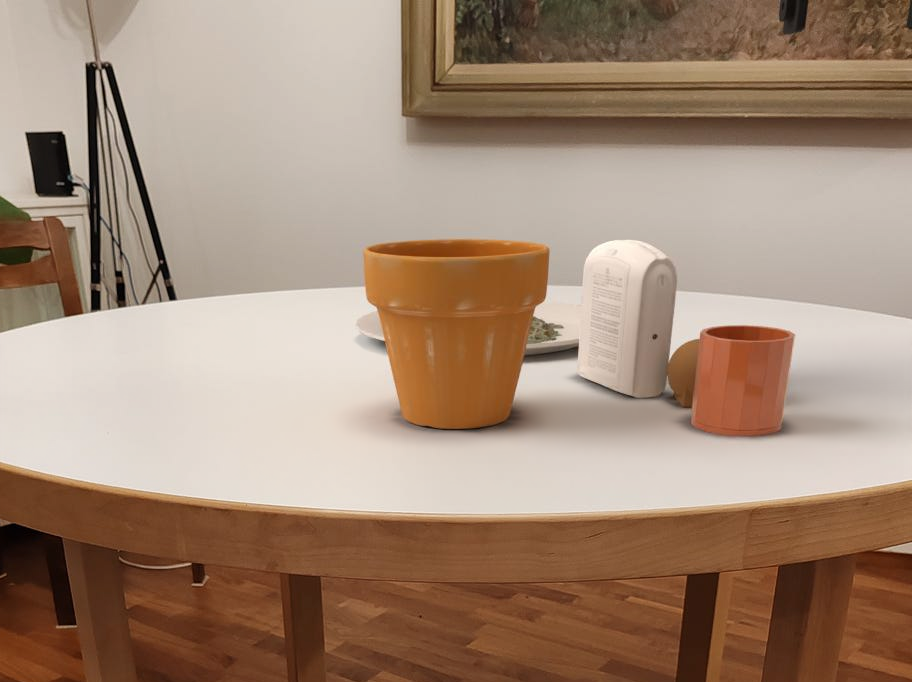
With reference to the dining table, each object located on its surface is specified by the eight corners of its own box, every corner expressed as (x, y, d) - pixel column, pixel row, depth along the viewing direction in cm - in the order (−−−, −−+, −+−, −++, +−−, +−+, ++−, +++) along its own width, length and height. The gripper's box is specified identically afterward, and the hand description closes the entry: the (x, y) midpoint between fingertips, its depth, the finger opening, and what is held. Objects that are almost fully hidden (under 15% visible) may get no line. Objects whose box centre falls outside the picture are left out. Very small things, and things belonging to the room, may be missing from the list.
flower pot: (426, 389, 89) (424, 235, 83) (570, 407, 83) (579, 241, 77) (335, 425, 79) (325, 252, 73) (492, 449, 72) (495, 261, 66)
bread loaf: (752, 393, 86) (761, 332, 84) (770, 408, 82) (779, 344, 79) (659, 394, 86) (664, 333, 84) (671, 409, 82) (677, 345, 79)
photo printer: (673, 395, 86) (688, 244, 80) (631, 401, 84) (644, 247, 79) (609, 373, 94) (619, 234, 89) (570, 377, 93) (577, 236, 87)
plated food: (655, 324, 117) (657, 294, 116) (566, 374, 94) (567, 338, 92) (432, 309, 130) (432, 282, 128) (304, 350, 106) (302, 318, 105)
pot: (766, 413, 80) (779, 324, 77) (792, 436, 74) (807, 341, 71) (683, 414, 80) (692, 325, 77) (702, 437, 74) (713, 342, 71)
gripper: (789, -275, 65) (758, 31, 72) (1053, -286, 64) (993, 21, 72) (755, -237, 71) (730, 39, 79) (995, -248, 71) (945, 30, 79)
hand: (856, 30), depth 76 cm, fingers open, 9 cm apart
